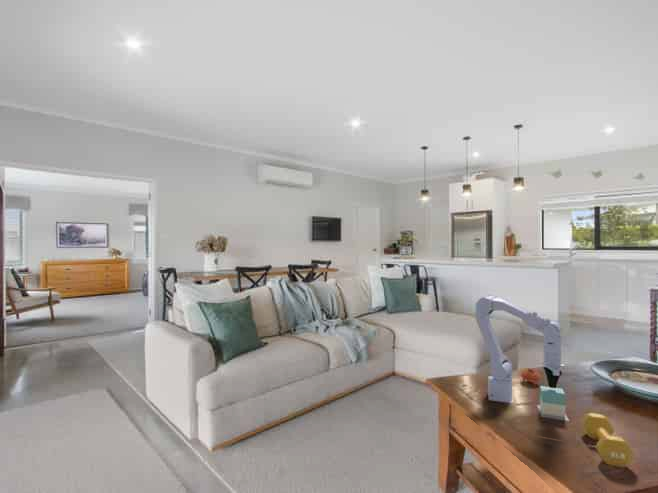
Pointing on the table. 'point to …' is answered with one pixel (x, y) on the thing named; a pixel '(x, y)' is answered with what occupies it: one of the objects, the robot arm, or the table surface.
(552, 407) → the brick cream
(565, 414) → the build board
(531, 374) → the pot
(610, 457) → the dumbbell
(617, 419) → the table surface
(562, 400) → the brick teal
